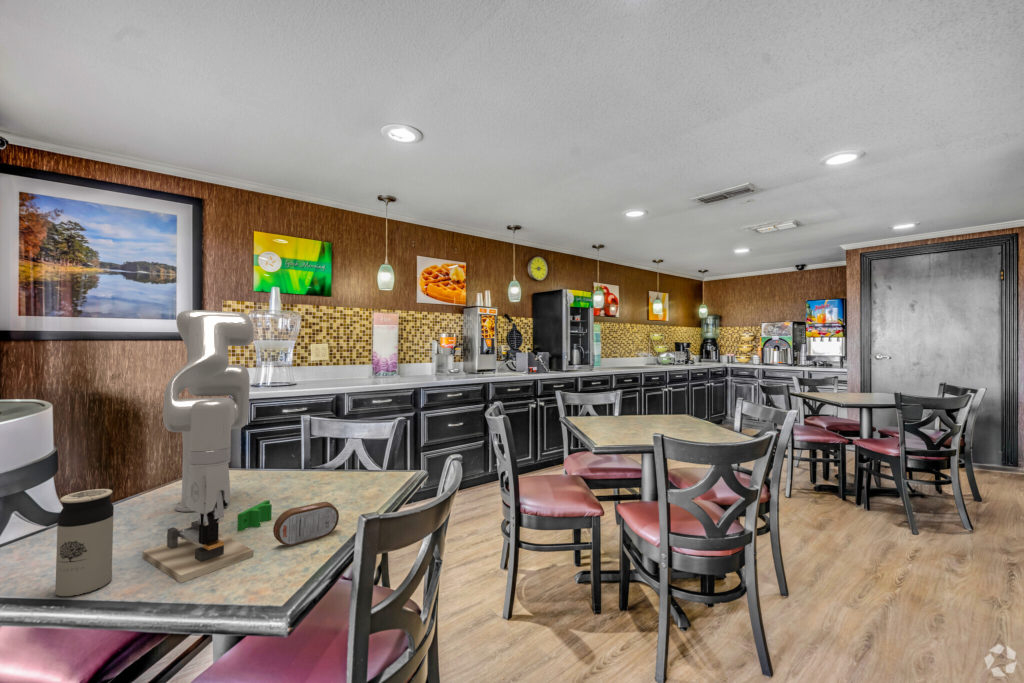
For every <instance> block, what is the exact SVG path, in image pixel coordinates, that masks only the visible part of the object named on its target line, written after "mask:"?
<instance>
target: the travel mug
mask: <svg viewBox="0 0 1024 683" xmlns="http://www.w3.org/2000/svg"><path fill="white" fill-rule="evenodd" d="M112 494H113V490H112V489H109V488H96V489H88V490H82V491H77V492H72V493H69V494H67V495H63V496H62V497H61V498H60V499H59V501H60V503H61V504H62V509H61V511H59V513H58V515H57V532H56V557H55V559H56V561H55V564H56V566H55V589H54V590H55V592H54V593H55V595H57V596H59V597H75V596H74V595H76V596H80V594H81V595H84V594H83V593H85V594H88V593H91V592H90V591H92V592H94V591H96V590H98V588H99V589H100V588H103V587H104V586H106V585H107V584H108V583H110V582H111V581H112V578H113V577H112V576H113V575H112V574H113V573H112V572H113V548H114V547H113V544H114V541H113V540H114V539H113V538H114V512H115V511H114V508H115V507H114V505H113V504H112V502H111V500H110V498H111V495H112ZM102 586H103V587H102ZM93 590H94V591H93ZM87 592H88V593H87Z"/></svg>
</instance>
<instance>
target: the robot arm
mask: <svg viewBox="0 0 1024 683" xmlns="http://www.w3.org/2000/svg"><path fill="white" fill-rule="evenodd" d="M176 327H177V330H178V333H179V335H180V337H181V339H182V342H183V343H184V345H185V348H186V352H187V357H186V358H187V361H186V363H187V364H185V365H184V366H182V367H181V368H180V369H179V370H178V371H177V372H175V373H174V375H173V376H172V377H170V379H169V381H168V382H167V384H166V386H165V390H164V395H163V408H162V410H163V411H162V421H163V425H164V428H166V430H167V431H169V432H172V433H182V434H181V436H182V472H181V473H182V474H181V475H182V476H181V480H182V481H181V500H180V501H178V502H177V503H175V505H174V510H176V511H178V512H182V513H183V512H184V513H185V512H190V513H191V512H196V513H197V521H198V523H199V524H201V525H199V543H200V544H202V545H204V544H206V543H209V542H213V541H216V540H218V534H219V530H220V528H219V525H220V522H221V518H224V517H225V511H224V510H226V509H228V508H229V507H230V500H231V499H230V498H231V486H230V484H231V482H230V481H231V480H230V469H229V468H230V467H229V463H230V462H231V447H232V446H231V445H232V444H231V440H232V435H231V434H232V430H236V429H237V430H238V429H241V428H243V427H245V426H246V425H247V423H248V421H249V420H248V419H249V413H250V412H249V410H250V409H249V408H250V385H251V384H250V382H251V381H250V373H249V370H248V368H247V367H246V366H244V365H241V364H230V362H229V361H230V360H229V347H247V346H249V345H251V343H252V342H253V339H254V333H255V332H254V331H255V330H254V325H253V322H252V319H251V317H250V316H249V315H248V314H247V313H245V312H237V311H236V312H235V311H219V310H207V309H206V310H204V309H200V310H199V309H192V310H184V311H180V313H178V314H177V317H176ZM186 389H187V391H188V393H189V394H190V395H191V396H194V398H180V397H179V396H180V395H181V393H183V391H184V390H186ZM223 396H224V397H223ZM226 396H227V397H226ZM228 396H229V397H228ZM195 397H197V398H195ZM230 397H232V398H230Z"/></svg>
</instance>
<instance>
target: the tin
mask: <svg viewBox="0 0 1024 683" xmlns="http://www.w3.org/2000/svg"><path fill="white" fill-rule="evenodd" d="M339 514H340V513H339V510H338V509H337V508H336V507H335V506H334V504H333V503H331V502H328V501H321V502H316V503H311V504H307V505H302V506H301V505H300V506H298V507H293V508H289V509H287V510H285V511H284V512H282V513H281V514H280V515H279V516H278V517H277V519H275V522H274V525H273V527H272V529H273V530H272V532H273V537H274V538H275V540H276V541H278V542H279V543H280V544H281V545H284V546H286V547H287V546H289V547H292V546H296V544H297V545H300V544H303V543H307V542H311V541H314V540H318V539H321V538H325V537H327V536H329V535H331V533H333V532H334V531H335V529H336V528H337V526H338V523H339V519H340V515H339Z"/></svg>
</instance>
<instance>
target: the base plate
mask: <svg viewBox="0 0 1024 683" xmlns="http://www.w3.org/2000/svg"><path fill="white" fill-rule="evenodd" d="M190 525H191V526H190V527H192V528H193V529H195V530H197V531H199V525H201V524H199V523H198V520H195V521H191V522H190ZM178 531H179V529H178V528H176V527H174V526H172V527H169V528H167V529H166V536H167V537H166V543H165V544H161V545H157V546H154V547H152V548H148V549H145V550H144V549H143V550H142V551H141V552H142V553H141V557H142V559H144V560H145V561H147V562H148V563H150V565H152V566H154V567H155V568H157V569H158V570H160V571H162V572H163V573H165V574H166V575H168V576H169V577H171V578H172V579H174V580H175V581H177V582H179V583H180V584H181V583H186V582H188V581H191V580H192V579H193V580H194V579H196V578H199V577H201V576H203V575H207V574H209V573H211V572H215V571H217V570H221V569H223V568H225V567H228V566H231V565H234V564H236V563H239V562H242V561H244V560H246V559H250V558H252V557H254V549H253V548H251V547H248V546H247V545H244V544H242V543H240V542H238V541H236V540H233V539H232V538H229V537H227V536H225V535H223V534H220V533H218V539H219V540H222V541H224V545H223V546H220V547H217V548H214V549H211V550H207V549H205V548H202V547H200V546H198V545H196V544H193V543H191V542H189V541H187V540H185V539H182V538H180V539H179V537H178Z"/></svg>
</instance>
